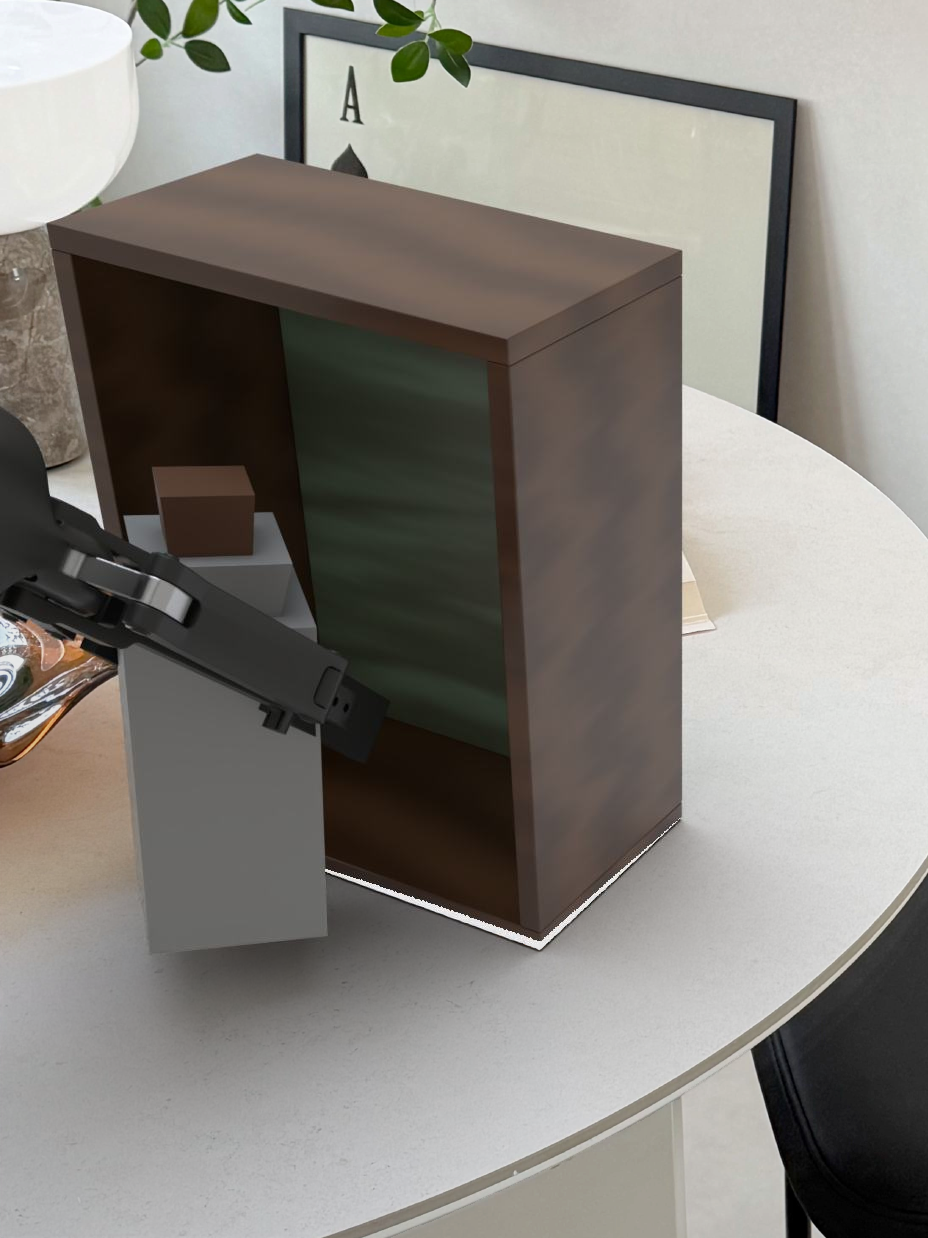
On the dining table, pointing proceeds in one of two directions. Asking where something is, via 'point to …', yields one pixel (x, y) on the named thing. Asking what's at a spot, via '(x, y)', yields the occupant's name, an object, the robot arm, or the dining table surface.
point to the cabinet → (424, 495)
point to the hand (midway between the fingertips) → (284, 700)
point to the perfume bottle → (220, 744)
